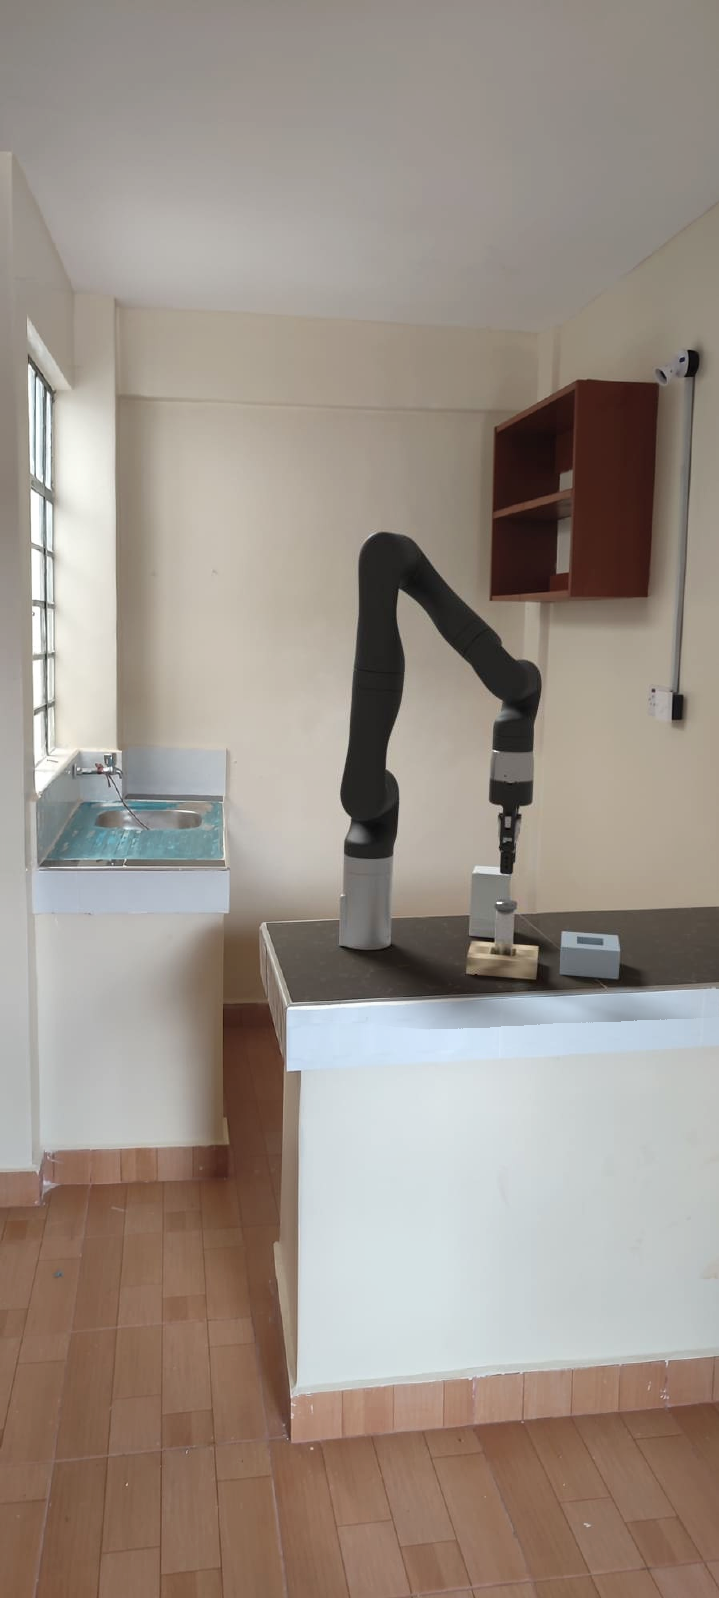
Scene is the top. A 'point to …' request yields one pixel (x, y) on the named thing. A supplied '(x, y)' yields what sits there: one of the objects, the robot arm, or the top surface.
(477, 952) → the mount
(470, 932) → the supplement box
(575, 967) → the socket
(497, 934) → the pin
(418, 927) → the top surface
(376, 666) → the robot arm
